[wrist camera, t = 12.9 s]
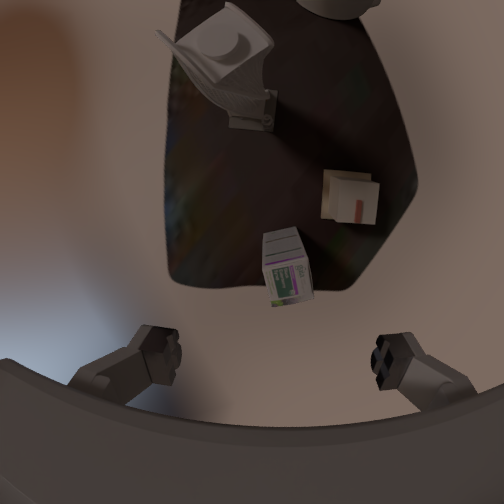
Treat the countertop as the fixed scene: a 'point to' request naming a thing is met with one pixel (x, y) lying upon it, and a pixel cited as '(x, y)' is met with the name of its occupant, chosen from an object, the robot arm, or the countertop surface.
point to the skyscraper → (229, 66)
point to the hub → (327, 187)
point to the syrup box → (286, 268)
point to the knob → (353, 200)
